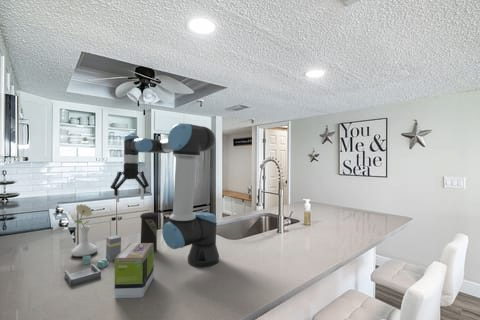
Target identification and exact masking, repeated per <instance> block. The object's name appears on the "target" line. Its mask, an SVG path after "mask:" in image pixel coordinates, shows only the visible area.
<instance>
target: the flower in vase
mask: <svg viewBox="0 0 480 320" xmlns="http://www.w3.org/2000/svg"><path fill="white" fill-rule="evenodd" d="M75 210H76V211H77V212H76V213H78V214H79V215H81V216H80V219H75V221H74V223H76V224H79V225H80V224H81V225H82V226H79V230H80V231H81V235H82V236H81V237H82V238H81V242H80V243H79V244H77V245H76V246H75V247H74V248H73V249H72V250H71V252H70V254H71V256H73V257H84V256H90V255H94V254H95V253H96V252H97V251H98V247H97V246H96V245H95V244H94V243H91V242H90V241H89V239H88V235H89V231H90V229H91V227H92V226H91V225H86V224H88V223H89V222H90V220H87V221H86V222H84V223H83V221H82V217H83V216H84V217H90V216H92V214H93V210H92V209H91V207H90V206H87V204H82V203H81V204H79V205H77V206H75Z"/></svg>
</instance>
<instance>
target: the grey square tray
mask: <svg viewBox="0 0 480 320" xmlns="http://www.w3.org/2000/svg"><path fill="white" fill-rule="evenodd" d="M90 264H91V267H89V268H86V269H82V270H79V271H75V272H71V273H69V271H68V270H64V277H65V279H66V280H67V282H68V283H69V285H70V287H73V286H77V285H80V284H83V283H86V282H91V281H93V280H97V279H100V278H102V271H101V270H100V269H99V267H97V265H95V264H94V263H90Z"/></svg>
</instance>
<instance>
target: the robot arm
mask: <svg viewBox="0 0 480 320" xmlns="http://www.w3.org/2000/svg"><path fill="white" fill-rule="evenodd" d="M123 143H124V144H123V162H124V163H123V171H117V173H116V176H115V178H114V180H113V181H112V184H111V185H110V189H112V190H113V192H114V196H115V202H117V203H119V202H120V189H119V188H121V186H122V185H123V184H124V183H125V182H126V181H127V180H136V182H137V183H138V184H139V185H140V186H141V187H140V199H141V200H145V194H146V189H147V188H149V186H150V184H149V183H148V181H147V179H146V176H145V173H144V172H145V171H143V170H140V171H139V153H153V154H156V153H157V154H170V153H172V155H173V157H174V158H175V169H174V171H175V173H174V187H173V188H174V189H173V205H172V206H173V207H172V213H170V214H169V216H168V222H166V223H164V225H163V226H162V237H163V238H162V239H163V241H164V242H165V244H166V246H167V247H169V248H170V249H172V250H177V249H183V248H185V247H188V246H191V247H190V250H189V252H188V255H187V263H188V264H189V265H190V266H193V267H197V268H198V267H199V268H207V267H212V266H215V265H217V264H218V263H219V262H220V253H219V250H218V247H217V226H218V225H217V223H218V221H217V216H216V215H215V214H214V213H211V212H203V211H200V212H198V211H197V212H193V211H194V198H195V181H196V168H197V167H196V166H197V159H198V158H199V157H200V156H201V152H207V151H209V150H211V149H212V148H213V147H214V146H215V143H216V136H215V133H214V132H213V130H212V129H210V128H208V127H207V126H203V125H202V126H201V125H197V124H192V123H176V124H174V125H173V126H172V127H171V129H170V130H169V133H168V136H167V138H166V139H154V138H153V139H151V138H147V137H139V135H135V134H126V135H125V136H124V141H123ZM122 175H123V176H122ZM121 176H122V179H120V178H121ZM139 176H140V178H141V179H140V178H139Z"/></svg>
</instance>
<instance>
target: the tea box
mask: <svg viewBox="0 0 480 320" xmlns="http://www.w3.org/2000/svg"><path fill="white" fill-rule="evenodd" d="M154 254H155V252H154V243H141V242H140V243H138V242H137V243H136V242H134V243H131V242H130V243H129V244H128V245H126V247H125V248H124V249H123V250H121V253H120V254H119V255H118V256H117V257H116V258H115V259H114V299H139V298H140V299H141V298H143V297H145V294H146V292H147V290H148V289H149V287H150V285H151V283H152V281H153V279H154V276H155V269H154V268H155V265H154V259H155V258H154V256H155V255H154Z"/></svg>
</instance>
